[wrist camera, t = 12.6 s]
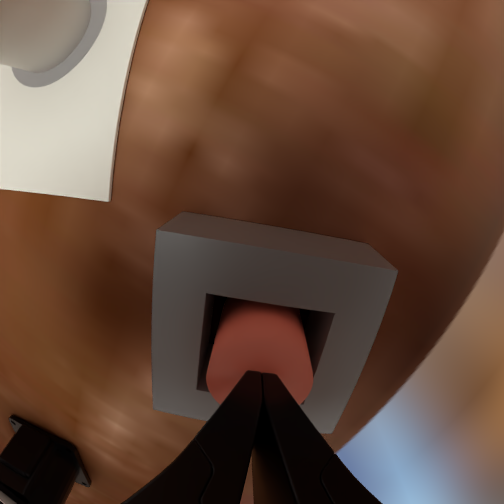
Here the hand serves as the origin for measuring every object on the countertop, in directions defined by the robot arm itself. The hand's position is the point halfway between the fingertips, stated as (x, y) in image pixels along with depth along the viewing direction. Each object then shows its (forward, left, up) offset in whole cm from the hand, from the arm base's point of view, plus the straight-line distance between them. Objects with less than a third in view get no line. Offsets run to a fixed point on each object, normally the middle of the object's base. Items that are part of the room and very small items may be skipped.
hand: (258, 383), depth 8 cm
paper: (+9, +11, -4) cm, 15 cm away
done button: (0, 0, -4) cm, 4 cm away
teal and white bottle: (+11, +11, -4) cm, 16 cm away
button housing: (0, 0, -4) cm, 4 cm away
